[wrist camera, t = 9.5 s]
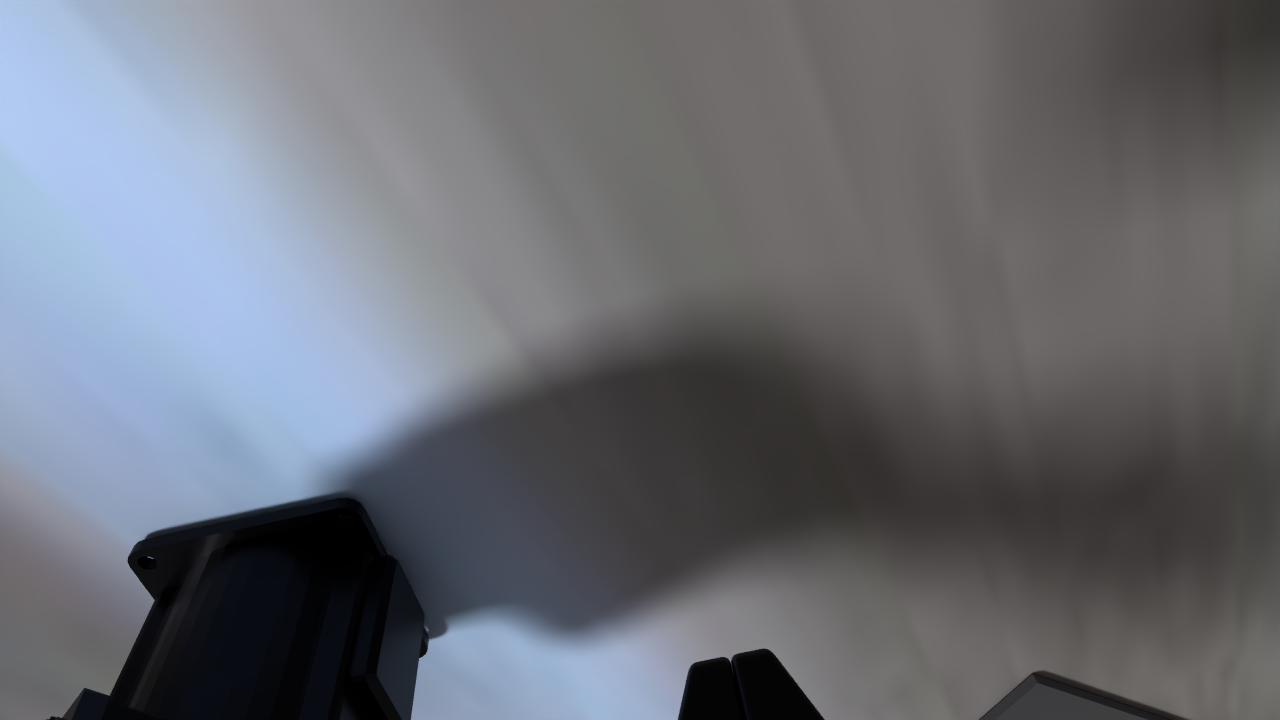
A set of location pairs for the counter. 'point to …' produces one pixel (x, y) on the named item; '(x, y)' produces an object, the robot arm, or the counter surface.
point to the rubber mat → (1060, 704)
